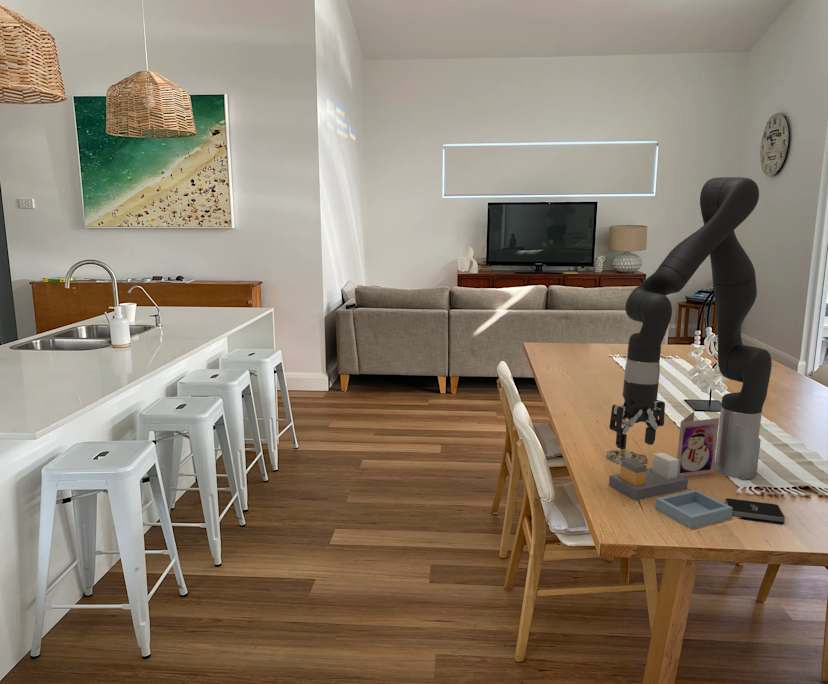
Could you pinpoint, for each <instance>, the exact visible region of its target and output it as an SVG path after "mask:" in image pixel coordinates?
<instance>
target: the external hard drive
mask: <svg viewBox="0 0 828 684" xmlns="http://www.w3.org/2000/svg"><path fill="white" fill-rule="evenodd" d="M723 503H724V504H726V505H729V506H731V507H733V510H732V517H736V518H737V519H738V520H745V521H753V522H761V523H768V524H775V525H784V524H785V521H786V516H785V513H784V512H783V511H782V509H781V508H780V506H779V504H776V503H770V502H760V501H756V500H755V501H754V500H747V499H746V500H744V499H738V498H737V499H736V498H732V497H731V498H730V497H729V498H728V497H725V498H724V502H723Z"/></svg>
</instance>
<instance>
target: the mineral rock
mask: <svg viewBox="0 0 828 684" xmlns="http://www.w3.org/2000/svg"><path fill="white" fill-rule="evenodd" d="M605 458H606V459H607V460H608V461H610V462H611V463H615V464H617V465H620V466H621V462H622V460H625V459H630V458H632V459H634V460H636V461H638V462H640V463H642V464H644V465H647V463H648V460H649V459H648V458H647V456H646V455H645V454H640V453H637V452H634V451H631V450H630V451H629V450H628V449H626V448H625V449H623V450H622V449H620V450H618V449H617V450H616V449H615V450H614V449H611V450H607V451H606V457H605Z"/></svg>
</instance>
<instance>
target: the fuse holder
mask: <svg viewBox="0 0 828 684" xmlns="http://www.w3.org/2000/svg"><path fill="white" fill-rule="evenodd" d="M652 467H653V466H652ZM652 467H647V468H646V479H645V485H640V486H633V485H631V484H629V483H628V482H626V481H624V480H622V479H620V474H621V473H617V474H611V475H609V478H608V486H609V487H611V488H612V489H614V490H615V491H617V492H619V493H621V494H622V495H625V496H627V497H629V498H630V499H632V500H634V501H639V500H644V499H650V498H654V497H657V496H658V497H659V496H663V495H668V494H673V493H677V492H681V491H686V490H688V484H689V479H688V478H686V477H685V476H680V475H678V474H677V478H674V479H669V480H667V479H665V478H663V477H661V476H659V475H657V474H655V473H653V472H652Z"/></svg>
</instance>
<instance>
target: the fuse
mask: <svg viewBox="0 0 828 684" xmlns="http://www.w3.org/2000/svg"><path fill="white" fill-rule="evenodd" d="M678 461H679V459H677V458H676V457H674V456H671V455H670V454H668V453H666V452H658V453H653V457H652V472H653V473H655V474H657V475H659V476H661V477H663V478H665V479H667V480H669V479H674V478H677V472H678Z"/></svg>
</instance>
